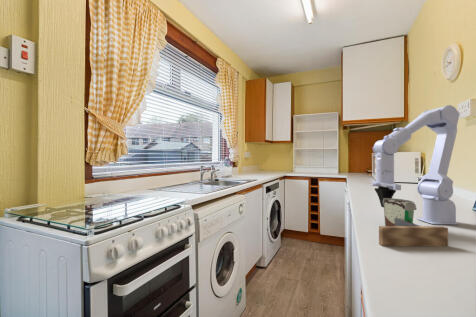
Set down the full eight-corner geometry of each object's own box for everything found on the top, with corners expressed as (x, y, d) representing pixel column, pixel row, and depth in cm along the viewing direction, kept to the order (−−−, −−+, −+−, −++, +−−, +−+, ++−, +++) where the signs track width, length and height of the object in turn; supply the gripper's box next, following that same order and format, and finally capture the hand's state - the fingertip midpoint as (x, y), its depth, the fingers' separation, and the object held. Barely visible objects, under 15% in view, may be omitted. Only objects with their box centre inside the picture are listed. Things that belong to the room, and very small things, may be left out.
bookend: (397, 233, 75) (397, 217, 75) (421, 244, 65) (421, 226, 65) (378, 232, 75) (378, 217, 75) (400, 244, 65) (400, 226, 65)
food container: (426, 236, 71) (426, 204, 72) (406, 236, 72) (406, 204, 72) (399, 225, 84) (399, 197, 84) (382, 225, 84) (382, 197, 84)
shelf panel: (443, 244, 65) (443, 226, 65) (448, 246, 63) (447, 228, 63) (378, 243, 65) (378, 226, 65) (382, 245, 63) (382, 227, 63)
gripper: (364, 170, 95) (364, 203, 94) (386, 172, 80) (386, 211, 80) (381, 170, 95) (381, 203, 94) (407, 172, 80) (407, 211, 80)
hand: (385, 207), depth 87 cm, fingers closed
